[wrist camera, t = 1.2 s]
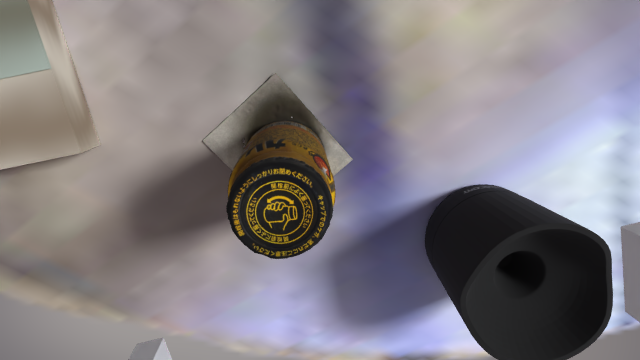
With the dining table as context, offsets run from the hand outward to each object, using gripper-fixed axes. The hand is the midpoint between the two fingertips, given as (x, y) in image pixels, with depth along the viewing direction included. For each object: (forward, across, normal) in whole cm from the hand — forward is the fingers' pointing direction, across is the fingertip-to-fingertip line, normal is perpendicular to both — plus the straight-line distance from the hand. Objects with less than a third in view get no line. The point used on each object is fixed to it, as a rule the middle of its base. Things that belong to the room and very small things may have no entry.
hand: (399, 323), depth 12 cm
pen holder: (+22, +10, -9) cm, 25 cm away
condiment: (+22, -4, +2) cm, 22 cm away
